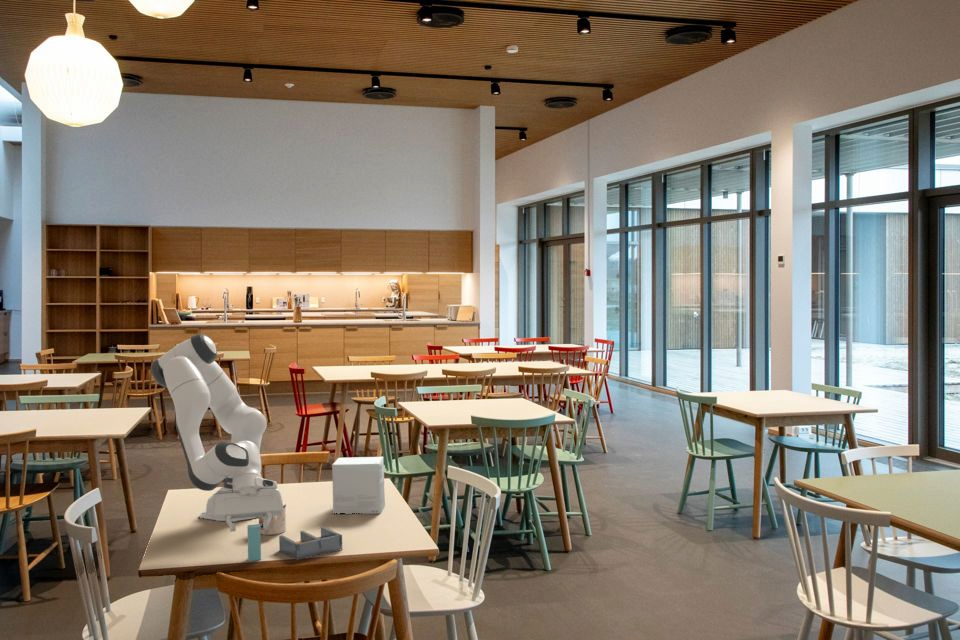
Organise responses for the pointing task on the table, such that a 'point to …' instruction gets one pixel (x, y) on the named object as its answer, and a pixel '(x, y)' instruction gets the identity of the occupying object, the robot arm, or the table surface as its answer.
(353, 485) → the supplement box
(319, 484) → the table surface
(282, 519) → the teacup with lid
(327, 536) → the rack
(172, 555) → the table surface
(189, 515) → the table surface
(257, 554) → the teal rectangular block
